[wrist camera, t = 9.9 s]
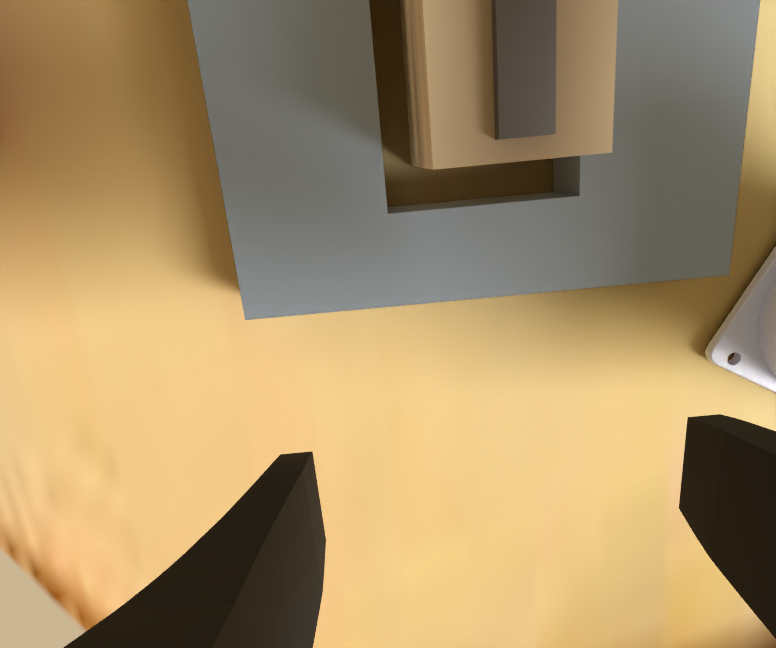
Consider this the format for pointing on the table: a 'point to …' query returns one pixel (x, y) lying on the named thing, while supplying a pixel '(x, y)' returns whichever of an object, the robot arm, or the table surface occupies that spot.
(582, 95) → the keyed plug
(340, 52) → the socket plate
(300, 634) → the robot arm
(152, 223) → the table surface
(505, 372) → the table surface
